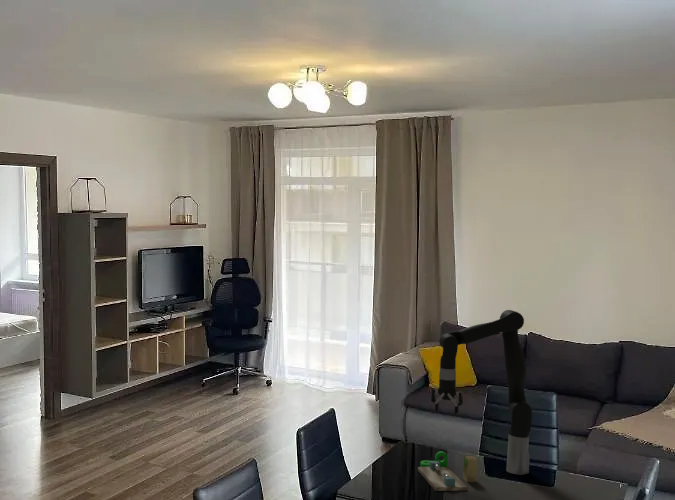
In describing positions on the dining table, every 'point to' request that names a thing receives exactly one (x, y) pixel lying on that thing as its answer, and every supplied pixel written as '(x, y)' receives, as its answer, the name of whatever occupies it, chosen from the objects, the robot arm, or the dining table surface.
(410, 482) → the dining table surface
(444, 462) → the mechanical part
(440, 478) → the board
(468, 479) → the tan square-topped block
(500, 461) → the dining table surface
